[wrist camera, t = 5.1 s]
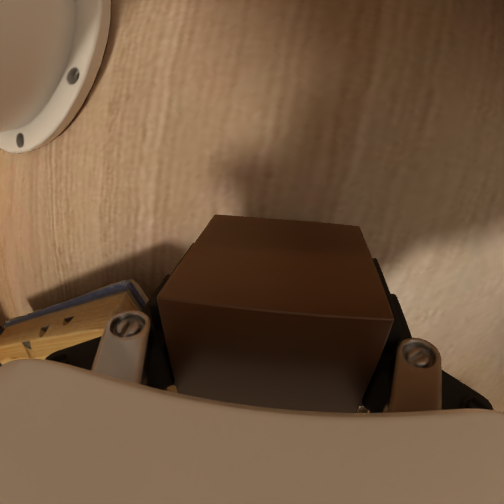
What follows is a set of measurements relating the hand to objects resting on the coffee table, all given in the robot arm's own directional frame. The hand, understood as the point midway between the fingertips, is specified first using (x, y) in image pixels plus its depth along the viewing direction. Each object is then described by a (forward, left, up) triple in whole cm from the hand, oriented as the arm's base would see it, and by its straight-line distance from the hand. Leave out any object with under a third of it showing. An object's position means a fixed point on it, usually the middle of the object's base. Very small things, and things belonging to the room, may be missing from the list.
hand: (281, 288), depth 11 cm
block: (0, 0, 0) cm, 0 cm away
